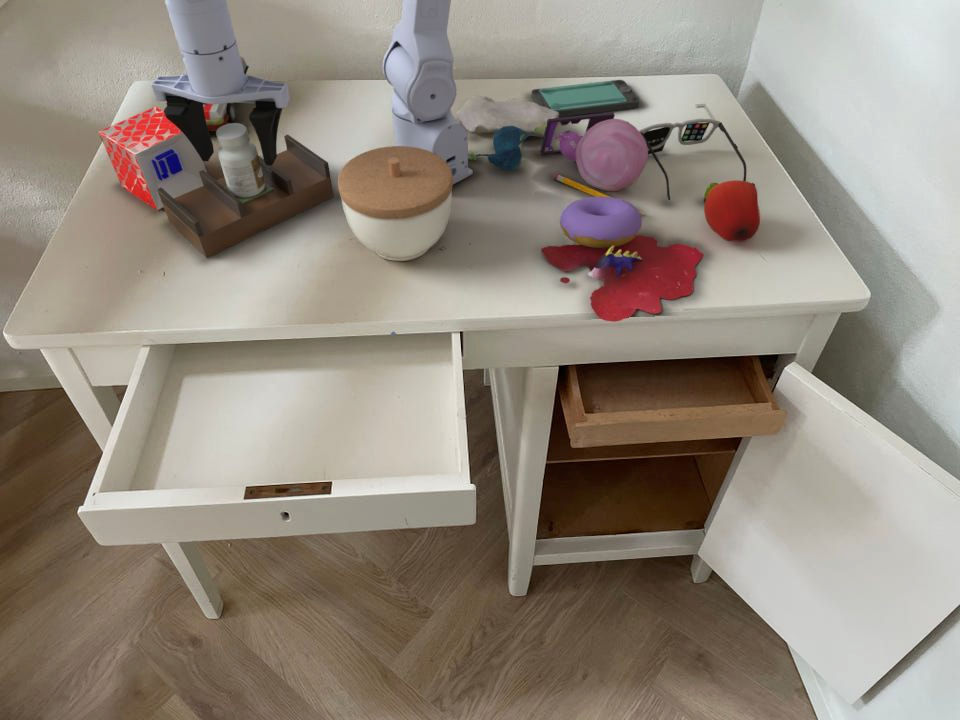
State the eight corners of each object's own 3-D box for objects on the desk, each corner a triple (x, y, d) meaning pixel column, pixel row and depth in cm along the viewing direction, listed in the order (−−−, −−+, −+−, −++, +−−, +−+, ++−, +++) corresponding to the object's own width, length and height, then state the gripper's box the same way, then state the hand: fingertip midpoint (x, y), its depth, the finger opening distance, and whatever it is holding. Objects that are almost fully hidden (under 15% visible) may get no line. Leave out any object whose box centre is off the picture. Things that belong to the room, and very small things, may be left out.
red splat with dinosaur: (655, 236, 91) (665, 203, 88) (729, 302, 81) (744, 268, 78) (532, 255, 84) (539, 220, 81) (598, 329, 74) (609, 293, 71)
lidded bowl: (456, 274, 81) (454, 192, 73) (345, 279, 80) (330, 196, 72) (452, 208, 89) (449, 128, 81) (351, 212, 89) (338, 131, 81)
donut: (632, 255, 78) (627, 213, 76) (553, 259, 83) (546, 219, 80) (651, 223, 86) (647, 184, 84) (578, 228, 90) (572, 191, 88)
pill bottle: (270, 192, 86) (256, 134, 80) (234, 202, 85) (217, 144, 79) (259, 174, 89) (244, 117, 83) (224, 184, 87) (206, 126, 82)
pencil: (557, 175, 94) (556, 172, 93) (646, 213, 88) (646, 210, 88) (554, 180, 94) (553, 177, 93) (643, 218, 88) (643, 215, 88)
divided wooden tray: (334, 196, 91) (328, 162, 87) (206, 258, 83) (194, 223, 79) (295, 168, 95) (287, 134, 92) (170, 223, 87) (156, 189, 83)
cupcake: (630, 94, 91) (616, 112, 83) (667, 151, 93) (656, 173, 85) (574, 135, 96) (556, 155, 88) (610, 188, 98) (596, 212, 90)
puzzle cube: (174, 161, 96) (155, 106, 91) (210, 182, 93) (192, 127, 87) (121, 187, 92) (97, 131, 86) (156, 210, 89) (134, 154, 83)
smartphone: (641, 100, 106) (545, 111, 103) (639, 107, 107) (544, 119, 104) (622, 77, 111) (530, 87, 108) (621, 85, 112) (529, 95, 109)
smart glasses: (696, 128, 101) (708, 99, 97) (741, 201, 94) (756, 173, 90) (618, 138, 99) (627, 108, 95) (659, 214, 92) (671, 185, 88)
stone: (472, 91, 107) (569, 100, 102) (472, 113, 109) (567, 123, 104) (443, 109, 99) (547, 120, 94) (444, 133, 101) (546, 145, 96)
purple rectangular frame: (612, 107, 93) (546, 114, 92) (623, 139, 91) (555, 146, 90) (601, 142, 99) (538, 148, 98) (610, 172, 98) (547, 179, 96)
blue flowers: (477, 161, 101) (472, 193, 96) (463, 137, 98) (458, 168, 93) (555, 130, 96) (555, 161, 92) (543, 104, 94) (542, 135, 89)
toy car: (172, 139, 100) (154, 87, 94) (205, 78, 112) (190, 29, 107) (227, 139, 100) (212, 87, 95) (253, 78, 112) (242, 29, 107)
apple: (786, 226, 81) (761, 164, 86) (747, 205, 78) (724, 142, 83) (732, 264, 87) (712, 203, 92) (694, 246, 83) (675, 184, 88)
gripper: (287, 29, 76) (309, 144, 86) (155, 23, 77) (192, 137, 87) (266, 59, 71) (292, 177, 81) (127, 52, 72) (169, 169, 82)
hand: (239, 158), depth 84 cm, fingers open, 7 cm apart
